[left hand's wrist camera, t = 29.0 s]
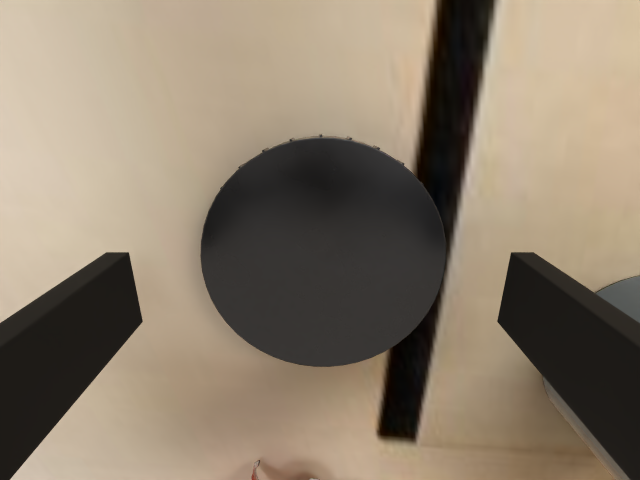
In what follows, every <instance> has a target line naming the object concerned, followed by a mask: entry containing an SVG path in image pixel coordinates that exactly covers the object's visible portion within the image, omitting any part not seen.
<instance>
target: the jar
mask: <svg viewBox="0 0 640 480" xmlns="http://www.w3.org/2000/svg"><path fill="white" fill-rule="evenodd" d="M595 294H597V295H598V296H600V297H601V298H603V299H604V300H606V301H607V302H609V303H610V304H612V305H613V306H615V307H616V308H618V309H619V310H621V311H622V312H624V313H625V314H627V315H628V316H630V317H631V318H633V319H634V320H636V321H637V322H639V323H640V276H636V277H632V278H628V279H625V280H622V281H619V282H617V283H614V284H612V285H610V286H608V287H605V288H604V289H602V290H600V291H598V292H597V293H595ZM543 382H544V386H545V390H546V392H547V395H548V397H549V399H550V400H551V402H552V403H553V405H554V406H555V407H556V409H557V410H558V411H559V412H560V413H561V415H562V416H563V417H564V418H565V420H566V421H567V422H568V423H569V424H570V426H571V427H572V428H573V429H574V431H575V432H576V433H577V434H578V435H579V437H580V438H581V439H582V440H583V442H584V443H585V444H586V445H587V446H588V448H589V449H590V450H591V451H592V453H593V454H594V455H595V456H596V457H597V459H598V460H599V461H600V462H601V463H602V465H603V466H604V467H605V468H606V470H607V471H608V472H609V473H610V474H611V476H612V477H613V478H614V479H615V480H630V479H629V478H628V476H627V475H626V474H625V473H624V472H623V470H622V469H621V468H620V467H619V466H618V464H617V463H616V462H615V461H614V460H613V459H612V457H611V456H610V455H609V454H608V453H607V451H606V450H605V449H604V448H603V447H602V445H601V444H600V443H599V442H598V441H597V439H596V438H595V437H594V436H593V435H592V434H591V432H590V431H589V430H588V429H587V428H586V426H585V425H584V424H583V423H582V422H581V420H580V419H579V418H578V417H577V416H576V415H575V413H574V412H573V411H572V410H571V409H570V407H569V406H568V405H567V404H566V403H565V401H564V400H563V399H562V398H561V397H560V395H559V394H558V393H557V392H556V391H555V390H554V388H553V387H552V386H551V385H550V384H549V382H548V381H547V380H546V379H545V378H544V376H543Z"/></svg>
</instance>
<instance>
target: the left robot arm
mask: <svg viewBox="0 0 640 480" xmlns="http://www.w3.org/2000/svg"><path fill="white" fill-rule="evenodd" d="M142 322H143V321H142V316H141V311H140V306H139V301H138V296H137V291H136V286H135V281H134V276H133V271H132V266H131V261H130V256H129V253H128V252H127V253H125V252H124V253H122V252H121V253H119V252H118V253H117V252H115V253H114V252H112V253H111V252H109V253H108V252H106V253H105V254H103V255H102V256H100V257H99V258H97V259H96V260H94V261H93V262H91V263H90V264H88V265H87V266H85V267H84V268H82V269H81V270H79V271H78V272H76V273H75V274H73V275H72V276H70V277H69V278H67V279H66V280H64V281H63V282H61V283H60V284H58V285H57V286H55V287H54V288H52V289H51V290H49V291H48V292H46V293H45V294H43V295H42V296H40V297H39V298H37V299H36V300H34V301H33V302H31V303H30V304H28V305H27V306H25V307H24V308H22V309H21V310H19V311H18V312H16V313H15V314H13V315H12V316H10V317H9V318H7V319H6V320H4V321H3V322H1V323H0V480H10V479H11V478H12V476H13V475H14V474H15V473H16V472H17V470H18V469H19V468H20V467H21V466H22V464H23V463H24V462H25V461H26V460H27V459H28V457H29V456H30V455H31V454H32V453H33V451H34V450H35V449H36V448H37V447H38V445H39V444H40V443H41V442H42V441H43V439H44V438H45V437H46V436H47V435H48V434H49V432H50V431H51V430H52V429H53V428H54V426H55V425H56V424H57V423H58V422H59V420H60V419H61V418H62V417H63V416H64V415H65V413H66V412H67V411H68V410H69V409H70V407H71V406H72V405H73V404H74V403H75V401H76V400H77V399H78V398H79V397H80V395H81V394H82V393H83V392H84V391H85V390H86V388H87V387H88V386H89V385H90V384H91V382H92V381H93V380H94V379H95V378H96V376H97V375H98V374H99V373H100V372H101V370H102V369H103V368H104V367H105V366H106V365H107V363H108V362H109V361H110V360H111V359H112V357H113V356H114V355H115V354H116V353H117V351H118V350H119V349H120V348H121V347H122V346H123V344H124V343H125V342H126V341H127V340H128V338H129V337H130V336H131V335H132V334H133V332H134V331H135V330H136V329H137V328H138V326H139V325H140V324H141V323H142ZM497 322H498V323H499V324H500V325H501V326H502V328H503V329H504V330H505V331H506V332H507V334H508V335H509V336H510V337H511V338H512V340H513V341H514V342H515V343H516V344H517V346H518V347H519V348H520V349H521V350H522V351H523V353H524V354H525V355H526V356H527V357H528V359H529V360H530V361H531V362H532V363H533V365H534V366H535V367H536V368H537V369H538V370H539V372H540V373H541V374H542V375H543V376H544V378H545V379H546V380H547V381H548V382H549V384H550V385H551V386H552V387H553V388H554V390H555V391H556V392H557V393H558V394H559V395H560V397H561V398H562V399H563V400H564V401H565V403H566V404H567V405H568V406H569V407H570V409H571V410H572V411H573V412H574V413H575V415H576V416H577V417H578V418H579V419H580V420H581V422H582V423H583V424H584V425H585V426H586V428H587V429H588V430H589V431H590V432H591V434H592V435H593V436H594V437H595V438H596V439H597V441H598V442H599V443H600V444H601V445H602V447H603V448H604V449H605V450H606V451H607V453H608V454H609V455H610V456H611V457H612V459H613V460H614V461H615V462H616V463H617V464H618V466H619V467H620V468H621V469H622V470H623V472H624V473H625V474H626V475H627V476H628V478H629V479H630V480H640V323H639V322H637V321H636V320H634V319H633V318H631V317H630V316H628V315H627V314H625V313H624V312H622V311H621V310H619V309H618V308H616V307H615V306H613V305H612V304H610V303H609V302H607V301H606V300H604V299H603V298H601V297H600V296H598V295H597V294H595V293H594V292H592V291H591V290H589V289H588V288H586V287H585V286H583V285H582V284H580V283H579V282H577V281H576V280H574V279H573V278H571V277H570V276H568V275H567V274H565V273H564V272H562V271H561V270H559V269H558V268H556V267H555V266H553V265H552V264H550V263H549V262H547V261H546V260H544V259H543V258H541V257H540V256H538V255H537V254H535V253H534V252H532V253H531V252H529V253H528V252H526V253H525V252H511V256H510V261H509V266H508V271H507V276H506V281H505V286H504V291H503V296H502V301H501V306H500V311H499V316H498V321H497Z"/></svg>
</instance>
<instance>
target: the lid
mask: <svg viewBox="0 0 640 480" xmlns="http://www.w3.org/2000/svg"><path fill="white" fill-rule="evenodd" d="M379 149H380V148H379V147H377V146H373V147H371V146H369V145H367V144H365V143H362V142H358V141H355V140H352V138H350V137H347V138H340V137H334V136H322V134H320V135H319V136H314V137H306V138H299V139H296V140H294V138H292V139H290V141H288V142H285V143H282V144H280V145H278V146H275V147H273V148H271V149H269V148H266V149H264V150H262V152H263V153H261V154H259V155H258V156H256V157H254V158H253V159H251V160H250V161H248V162H247V163H245V164H243V165H241V166H240V167H238V168H239V169H238V170H237V171H236V172H235V173H234V174H233V175H232V176H231V178H230V179H229V180H228V181H227V182H226V183H225V184H224V186H222V187H221V188H220V189H221V190H220V191H219V193H218V194H217V196H216V197H215V199H214V201H213V203H212V205H211V207H210V209H209V212H208V215H207V218H206V221H205V224H204V228H203V233H202V239H201V264H202V272H203V276H204V280H205V284H206V287H207V289H208V292H209V294H210V297H211V299H212V301H213V303H214V305H215V306H216V308H217V310H218V312H219V313H220V314H221V316H222V317H223V319H224V320H225V321H226V323H227V324H228V325H229V326H230V327H231V328H232V329H233V330H234V331H235V332H236V333H237V334H238V335H239V336H240V337H242V338H243V339H244V340H245V341H247V342H248V343H249V344H251V345H252V346H254V347H256V348H257V349H259V350H260V351H262V352H264V353H266V354H268V355H271V356H273V357H275V358H278V359H281V360H284V361H287V362H291V363H295V364H299V365H307V366H316V367H331V366H340V365H347V364H351V363H356V362H360V361H363V360H366V359H369V358H372V357H374V356H376V355H378V354H380V353H382V352H385V351H386V350H388V349H389V348H391V347H393V346H394V345H396V344H397V343H399V342H400V341H401V340H402V339H404V338H405V337H406V336H408V335H409V334H410V333H411V332H412V331H413V330H414V329H415V328H416V327H417V326H418V325H419V323H420V322H421V321H422V319H423V318H424V317H425V315H426V314H427V313H428V311H429V309H430V308H431V306H432V304H433V302H434V301H435V298H436V296H437V294H438V291H439V289H440V286H441V282H442V279H443V275H444V270H445V262H446V241H445V235H444V228H443V225H442V222H441V218H440V215H439V212H438V210H437V207H436V206H435V204H434V202H433V200H432V198H431V196H430V195H429V193H428V192H427V190H426V189H425V187H424V186H423V185H424V184H423V183H422V182H420V181H419V180H418V179H417V178H416V177H415V175H414V174H413V173H412V172H411V171H409V170H408V169H407V168H406V167H405V166H404V163H402V162H400V161H398V160H396V159H394V158H392V157H391V156H389V155H388V154H386V153H384V152H382V151H380V150H379Z"/></svg>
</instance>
